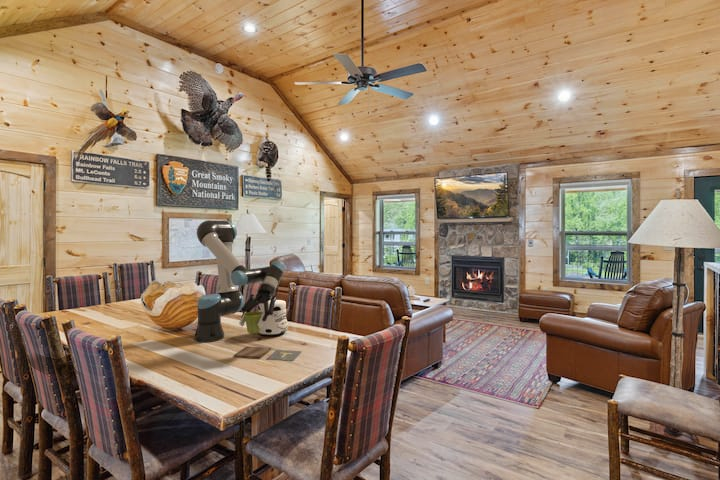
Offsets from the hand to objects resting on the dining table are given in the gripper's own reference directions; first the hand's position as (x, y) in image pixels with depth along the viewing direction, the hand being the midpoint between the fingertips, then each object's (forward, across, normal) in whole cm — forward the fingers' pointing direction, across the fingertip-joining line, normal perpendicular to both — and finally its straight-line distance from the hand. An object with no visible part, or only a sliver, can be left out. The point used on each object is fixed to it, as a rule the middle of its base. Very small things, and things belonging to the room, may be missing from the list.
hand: (250, 325), depth 180 cm
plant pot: (0, 0, -5) cm, 5 cm away
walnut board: (+8, +1, -12) cm, 15 cm away
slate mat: (+6, -15, -14) cm, 22 cm away
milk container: (-15, +11, -36) cm, 40 cm away
